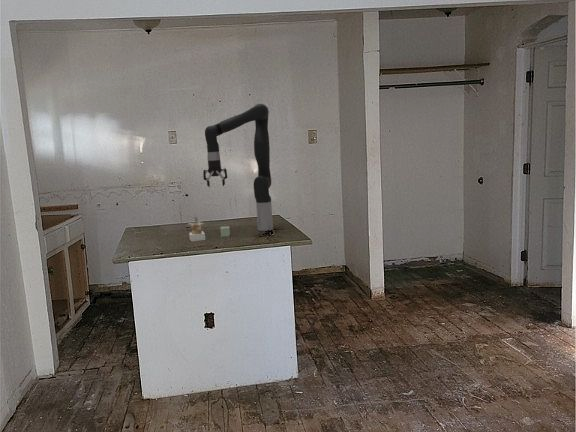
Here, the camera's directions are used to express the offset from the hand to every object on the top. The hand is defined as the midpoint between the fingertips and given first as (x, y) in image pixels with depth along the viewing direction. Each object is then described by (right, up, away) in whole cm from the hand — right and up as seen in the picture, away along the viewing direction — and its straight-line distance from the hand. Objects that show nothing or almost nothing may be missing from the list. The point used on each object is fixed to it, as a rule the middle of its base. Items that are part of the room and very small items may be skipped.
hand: (216, 186), depth 312 cm
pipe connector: (-13, -28, +6) cm, 32 cm away
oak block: (-9, -28, -14) cm, 33 cm away
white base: (-9, -32, -13) cm, 36 cm away
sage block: (+7, -30, -8) cm, 31 cm away
